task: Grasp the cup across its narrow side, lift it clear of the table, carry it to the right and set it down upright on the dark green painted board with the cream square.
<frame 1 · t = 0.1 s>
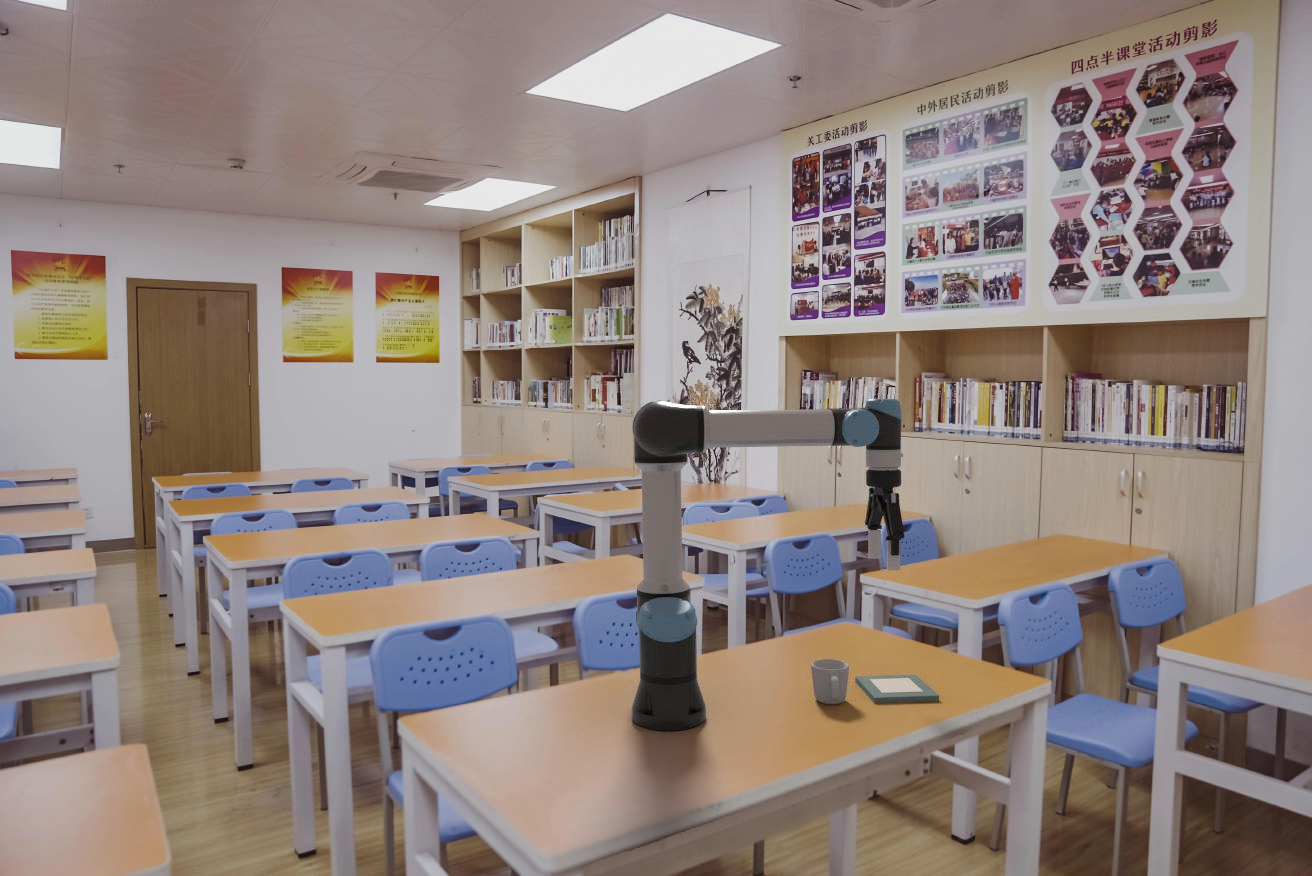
hand: (883, 564, 190), 28 cm above the table, fingers open, 13 cm apart
board: (895, 690, 189), on the table
cup: (831, 703, 182), on the table
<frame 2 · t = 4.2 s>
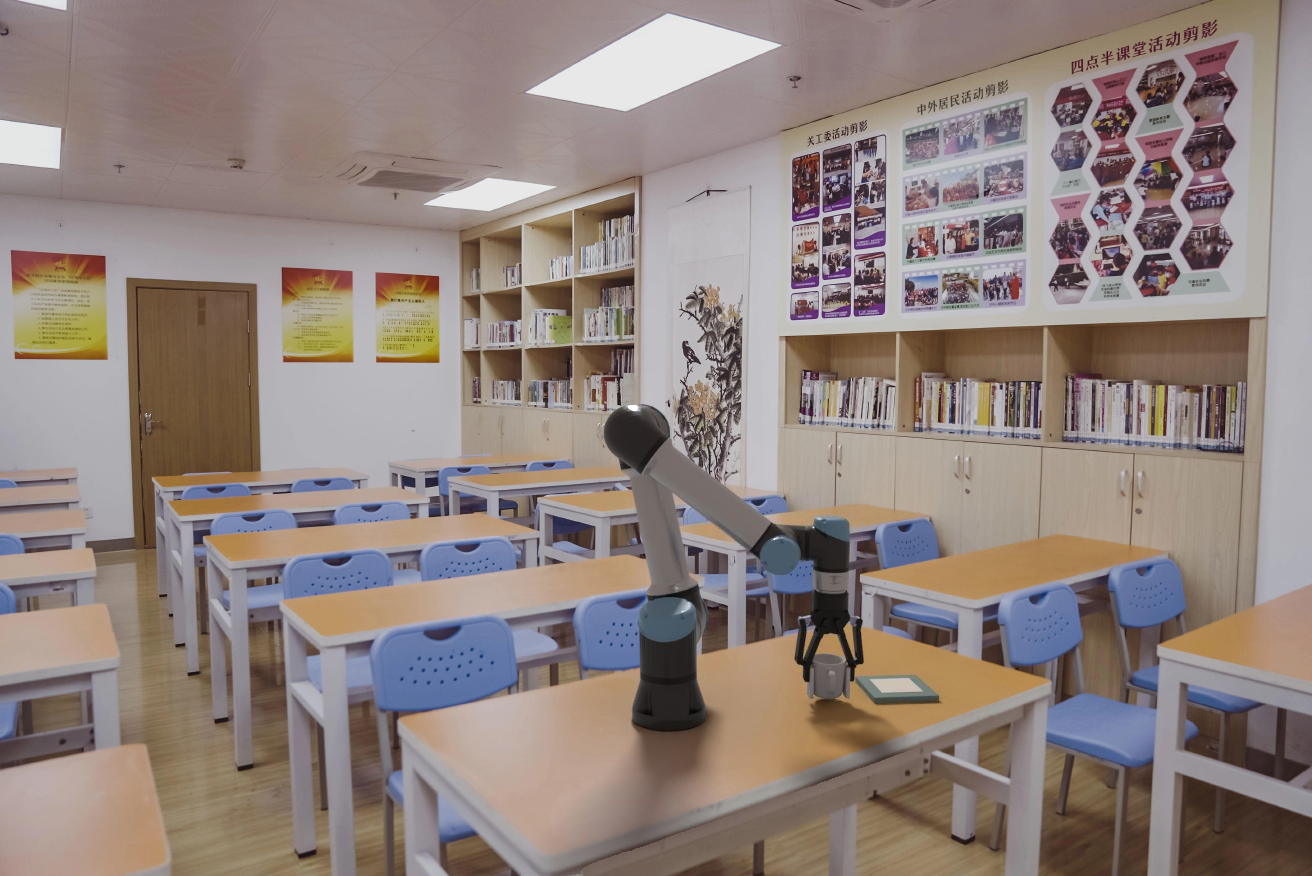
hand: (828, 696, 182), 1 cm above the table, fingers closed on cup, 7 cm apart
cup: (827, 698, 182), point 1 cm above the table, touching gripper
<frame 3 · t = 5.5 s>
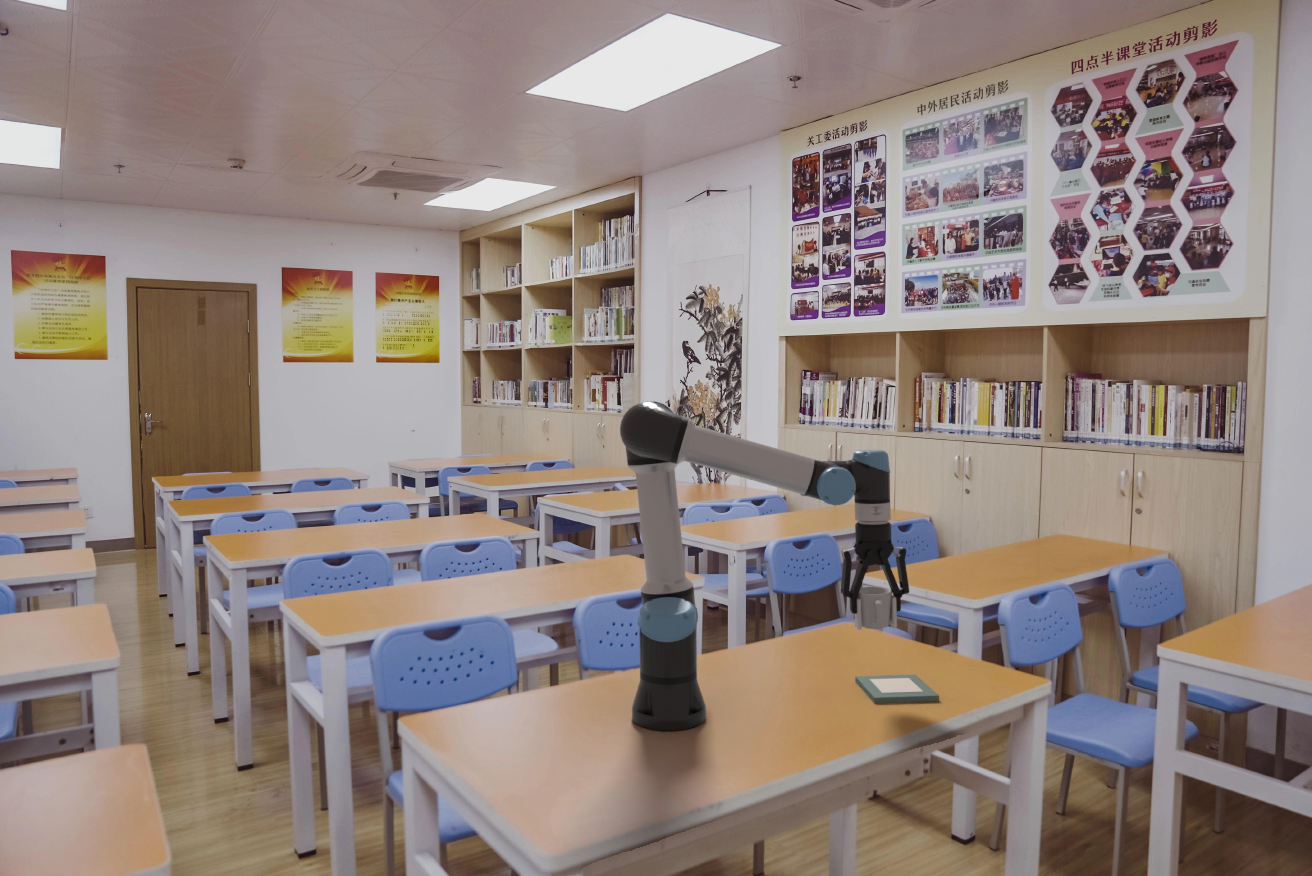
hand: (875, 626, 186), 15 cm above the table, fingers closed on cup, 7 cm apart
cup: (875, 629, 186), point 15 cm above the table, touching gripper
when the fingers open (2 cm above the table, at t = 8.9 s): cup stays where it is, resting on board.
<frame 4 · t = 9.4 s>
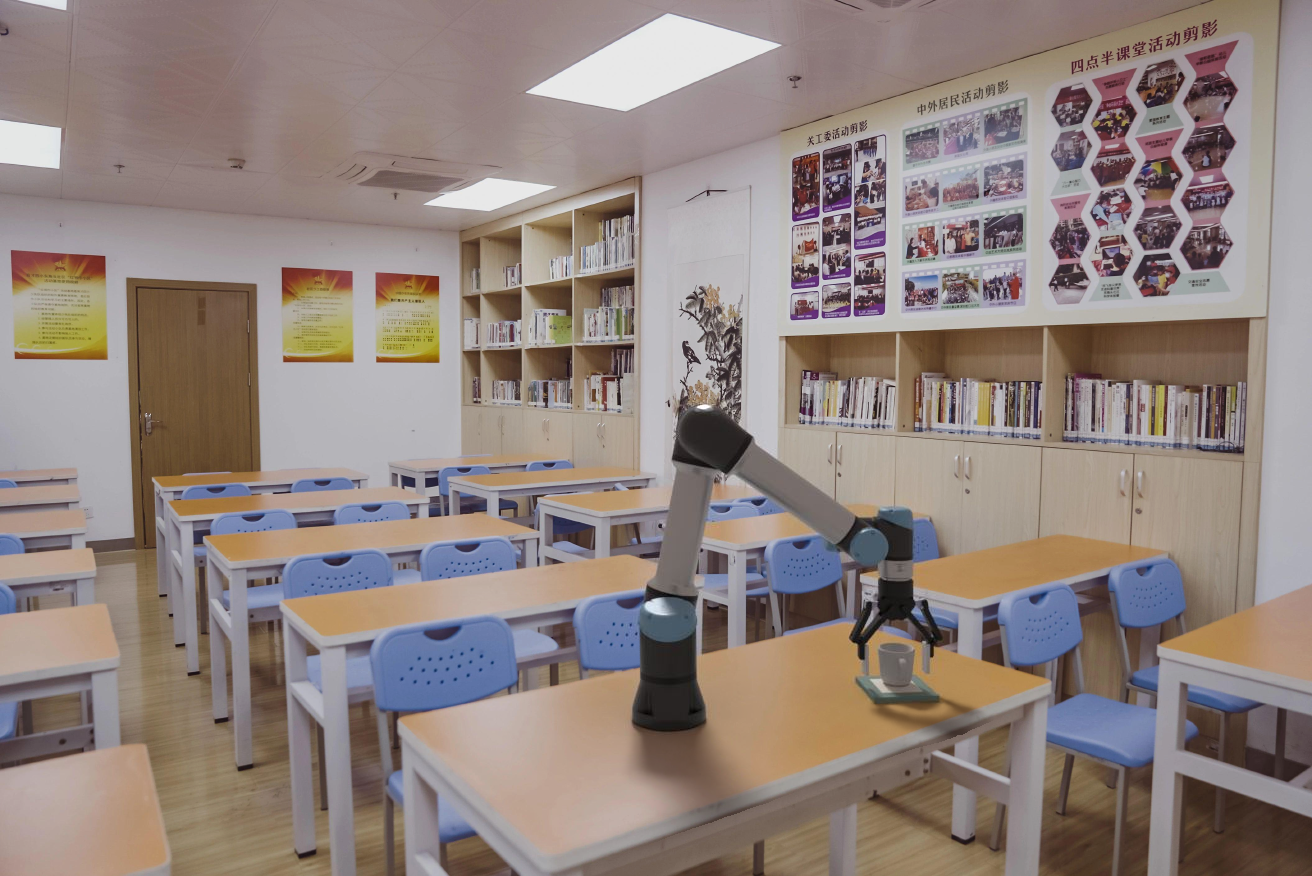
hand: (895, 672, 189), 4 cm above the table, fingers open, 13 cm apart
cup: (897, 685, 189), point 1 cm above the table, touching board
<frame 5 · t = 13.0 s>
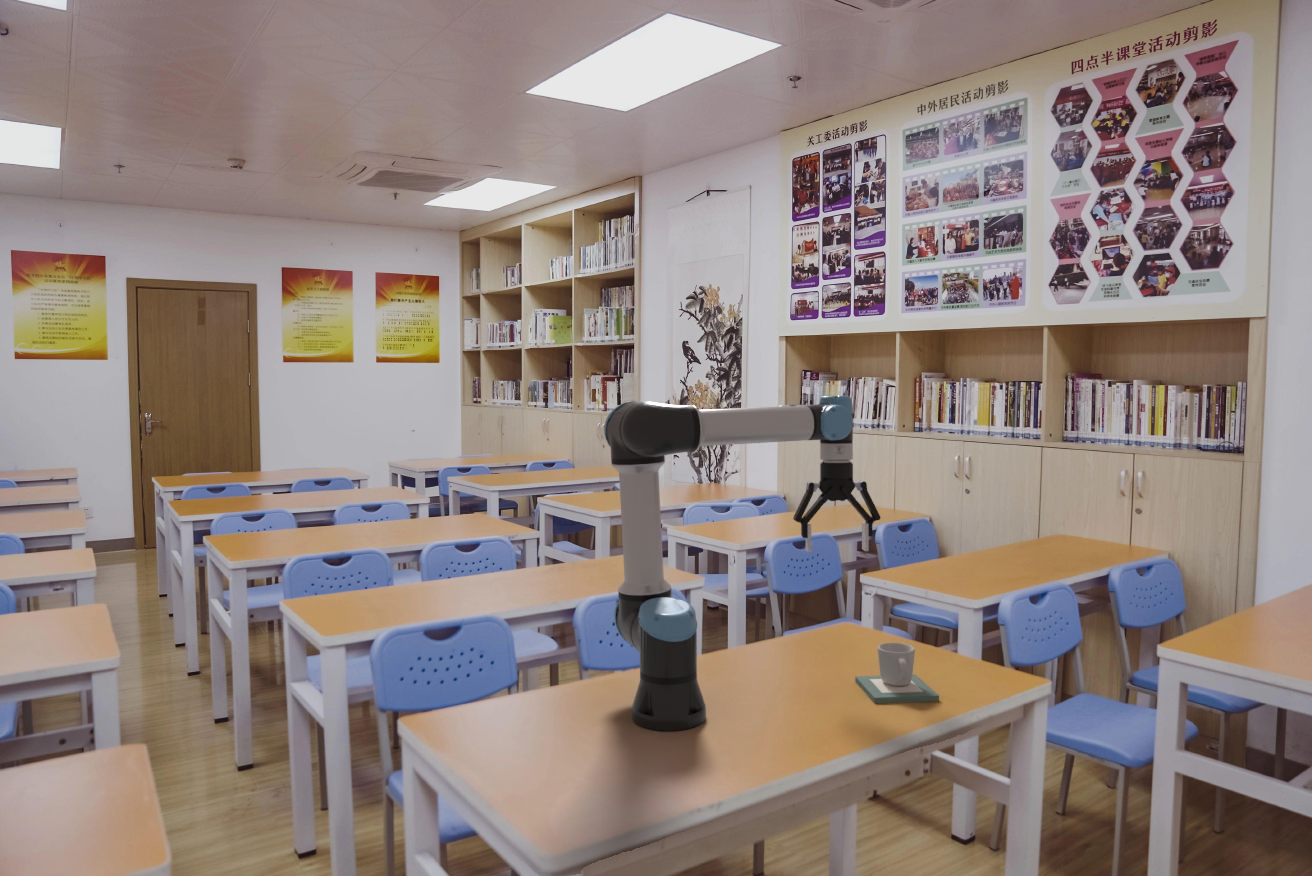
hand: (836, 550, 202), 29 cm above the table, fingers open, 13 cm apart
nothing on the table moved.
at the end: cup inside the target area on the board (0.5 cm from its centre), point 1.1 cm above the board's base; cup tilted 0°; the gripper is holding nothing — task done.
